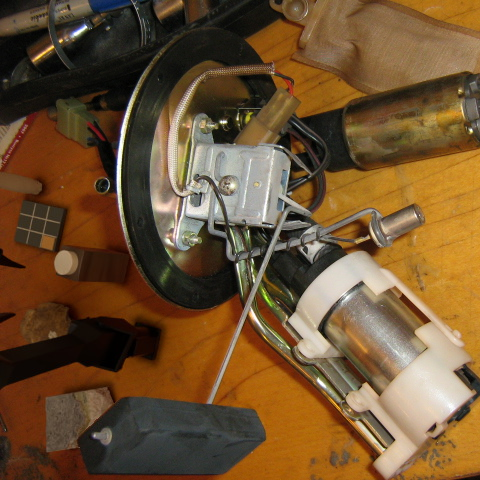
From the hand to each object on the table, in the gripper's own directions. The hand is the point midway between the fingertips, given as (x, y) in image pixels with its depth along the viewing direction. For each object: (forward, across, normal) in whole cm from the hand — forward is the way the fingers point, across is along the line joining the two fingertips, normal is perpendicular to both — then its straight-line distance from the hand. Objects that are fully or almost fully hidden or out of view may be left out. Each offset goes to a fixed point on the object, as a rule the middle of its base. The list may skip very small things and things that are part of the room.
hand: (19, 290), depth 89 cm
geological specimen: (+14, +24, +10) cm, 30 cm away
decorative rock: (+14, +10, -6) cm, 18 cm away
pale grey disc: (+2, -7, +9) cm, 12 cm away
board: (+13, -12, -16) cm, 24 cm away
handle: (+14, -21, -20) cm, 32 cm away
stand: (+14, -7, +9) cm, 18 cm away
